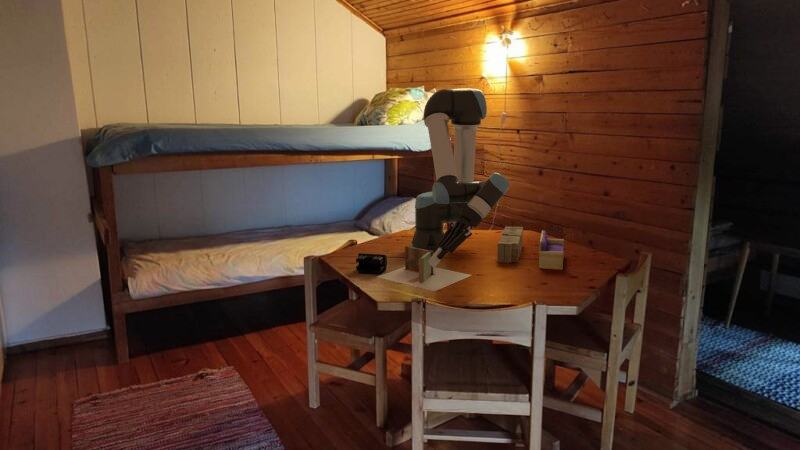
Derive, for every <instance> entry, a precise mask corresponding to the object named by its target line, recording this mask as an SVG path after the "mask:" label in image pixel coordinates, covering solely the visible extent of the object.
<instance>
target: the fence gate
mask: <svg viewBox="0 0 800 450" xmlns="http://www.w3.org/2000/svg"><path fill="white" fill-rule="evenodd" d="M430 258H431V252H427V253H426V254H425V255H424V256H422V257H421V258H419V282H421V283H422V282H424V280H425V279H426V278H428V277H429V276H430V275H431V265H430V264H429V263H428V260H429V259H430Z"/></svg>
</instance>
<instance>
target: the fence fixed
mask: <svg viewBox="0 0 800 450" xmlns="http://www.w3.org/2000/svg"><path fill="white" fill-rule="evenodd" d="M427 252H431V257H432V256H433V254H434V253H433V251H432V250H429V251H428V250H424V249H419V248H414V247H411V245H410V246H409V245H407V246H406V245H405V247H404V254H405V255H404V261H405V265H404V267H405V269H406V270H412V271H417V272H419V258H421V257H422V256H424V255H425V254H426V253H427ZM431 275H433V267H432V266H431Z"/></svg>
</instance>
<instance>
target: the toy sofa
mask: <svg viewBox="0 0 800 450" xmlns="http://www.w3.org/2000/svg"><path fill="white" fill-rule="evenodd" d="M564 241H565V239H564V238H548V234H547V231H546V230H541V234H540V240H539V251H538V253H539V254H538V257H539V258H538V259H539V261H538V268H539V269H548V270H549V269H550V270H563V269H564V268H563V267H564V257H565V256H564V255H565V253H564V252H565V251H564V250H565V249H564V246H565V245H564Z"/></svg>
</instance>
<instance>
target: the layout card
mask: <svg viewBox="0 0 800 450" xmlns="http://www.w3.org/2000/svg"><path fill="white" fill-rule="evenodd" d="M471 276H472V274H467V273H465V272H459V271H455V270H454V271H453V270H451V269H450V270H449V269H446V268H440V267H436V266H435V268H433V275H430V276H429V277H428V278H426V279H425V280H424V282H422V283H421V282H419V272H417V271H412V270H406V269H405V266H404V267H400V268H398V269H395V270H392V271H390V272H387V273H384V274H383V273H382V274H381V275H377V278H379V279H383V280H387V281H391V282H395V283H398V284H403V285H406V286H407V285H408V286H411V287H415V288H420V289H423V290H427V291H431V292H436V291H439V290H441V289H443V288H445V287H448V286H450V285H452V284H455V283H457V282H460V281H462V280H464V279H467V278H469V277H471Z"/></svg>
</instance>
